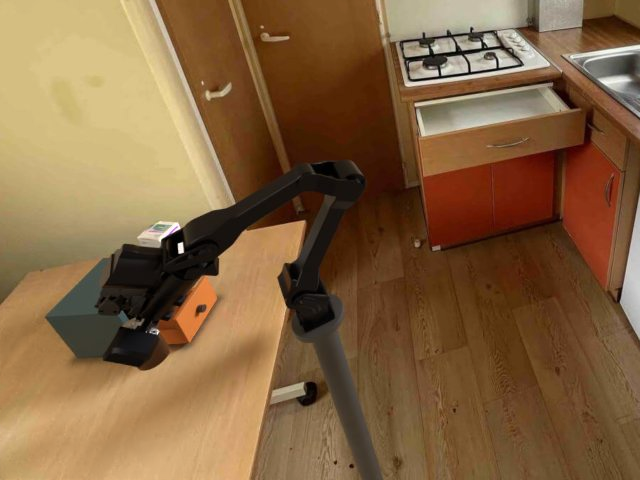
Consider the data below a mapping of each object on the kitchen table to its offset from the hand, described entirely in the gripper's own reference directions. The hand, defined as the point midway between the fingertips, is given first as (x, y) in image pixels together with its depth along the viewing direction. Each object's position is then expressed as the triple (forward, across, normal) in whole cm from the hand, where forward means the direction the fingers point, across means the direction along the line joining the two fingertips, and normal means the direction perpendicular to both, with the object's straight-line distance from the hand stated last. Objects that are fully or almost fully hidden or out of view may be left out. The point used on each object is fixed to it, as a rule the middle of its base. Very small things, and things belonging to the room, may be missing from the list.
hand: (130, 337), depth 77 cm
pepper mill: (+4, 0, +6) cm, 7 cm away
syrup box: (+14, -27, +4) cm, 31 cm away
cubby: (+16, -14, +2) cm, 21 cm away
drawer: (+9, -12, +8) cm, 17 cm away
